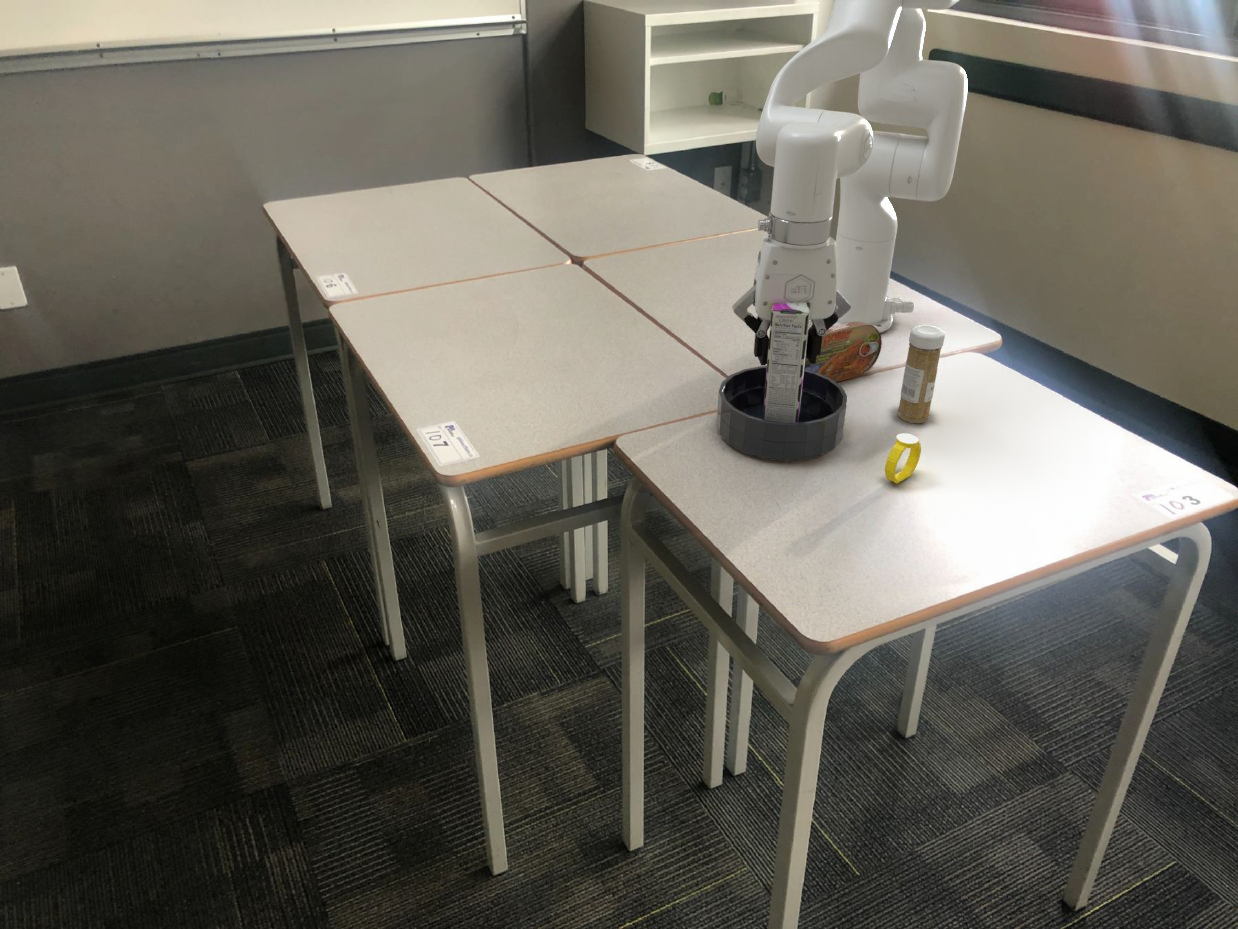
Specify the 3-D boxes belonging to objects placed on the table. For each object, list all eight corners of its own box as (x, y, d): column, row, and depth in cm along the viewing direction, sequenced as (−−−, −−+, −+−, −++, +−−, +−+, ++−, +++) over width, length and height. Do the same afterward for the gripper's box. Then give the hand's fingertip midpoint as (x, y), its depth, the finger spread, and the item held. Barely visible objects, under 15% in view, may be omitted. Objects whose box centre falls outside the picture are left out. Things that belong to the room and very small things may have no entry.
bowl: (824, 400, 146) (829, 364, 143) (856, 461, 131) (862, 422, 128) (708, 404, 145) (710, 367, 142) (728, 466, 130) (730, 426, 127)
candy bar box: (766, 386, 141) (776, 276, 132) (801, 389, 140) (814, 279, 132) (759, 423, 132) (770, 308, 123) (798, 427, 131) (811, 311, 122)
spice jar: (934, 422, 140) (952, 335, 133) (905, 426, 140) (920, 338, 132) (919, 407, 144) (935, 321, 137) (890, 410, 143) (905, 324, 136)
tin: (800, 392, 148) (806, 340, 144) (788, 383, 151) (793, 332, 146) (879, 371, 154) (887, 321, 150) (866, 363, 157) (873, 314, 152)
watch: (895, 491, 125) (902, 451, 122) (877, 482, 127) (883, 442, 124) (921, 474, 129) (929, 434, 126) (903, 466, 130) (910, 426, 127)
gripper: (736, 239, 119) (726, 374, 129) (876, 236, 120) (857, 371, 130) (725, 220, 125) (717, 350, 135) (859, 217, 127) (842, 346, 136)
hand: (786, 359), depth 132 cm, fingers closed on candy bar box, 5 cm apart
